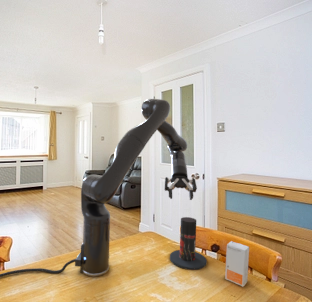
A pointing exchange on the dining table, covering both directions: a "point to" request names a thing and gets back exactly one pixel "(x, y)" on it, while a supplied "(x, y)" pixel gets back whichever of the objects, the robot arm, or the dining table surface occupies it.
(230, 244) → the cosmetic box
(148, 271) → the dining table surface
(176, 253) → the mat
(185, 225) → the deodorant
